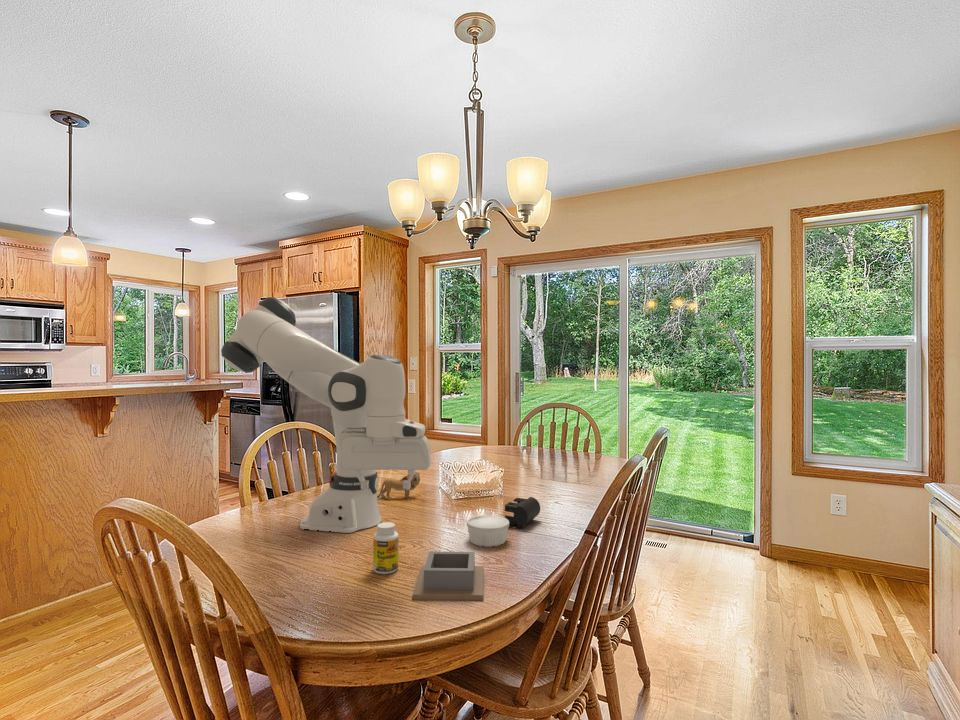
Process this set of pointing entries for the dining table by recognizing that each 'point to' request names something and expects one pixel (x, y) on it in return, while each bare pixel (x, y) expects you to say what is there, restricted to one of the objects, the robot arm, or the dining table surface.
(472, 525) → the ramekin
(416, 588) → the socket holder
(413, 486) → the lion figurine
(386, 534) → the supplement bottle
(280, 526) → the dining table surface
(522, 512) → the end cap
